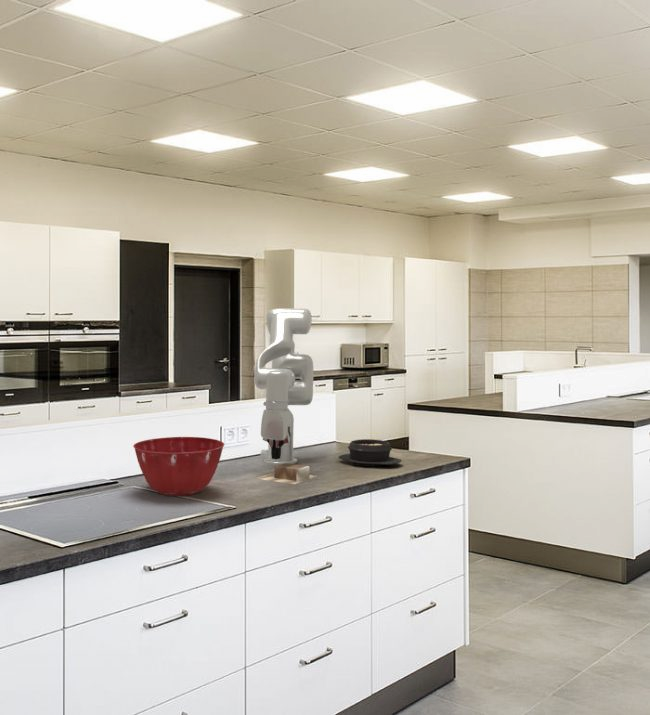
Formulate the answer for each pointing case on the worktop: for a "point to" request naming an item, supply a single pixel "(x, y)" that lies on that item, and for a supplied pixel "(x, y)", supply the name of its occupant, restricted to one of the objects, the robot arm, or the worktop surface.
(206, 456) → the mixing bowl
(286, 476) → the walnut block
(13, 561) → the worktop surface
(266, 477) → the oak board
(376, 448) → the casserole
